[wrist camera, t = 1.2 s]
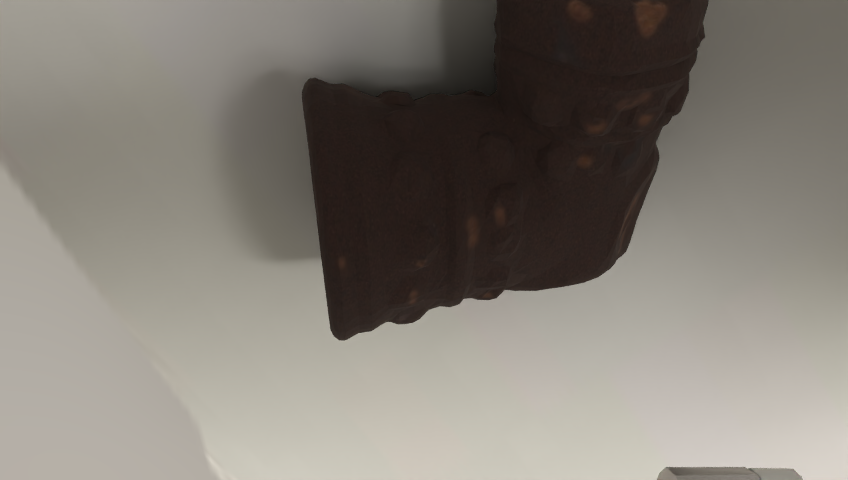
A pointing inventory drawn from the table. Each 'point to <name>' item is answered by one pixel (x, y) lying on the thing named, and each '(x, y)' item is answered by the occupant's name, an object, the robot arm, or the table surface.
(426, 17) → the table surface
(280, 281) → the table surface
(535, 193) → the pipe
